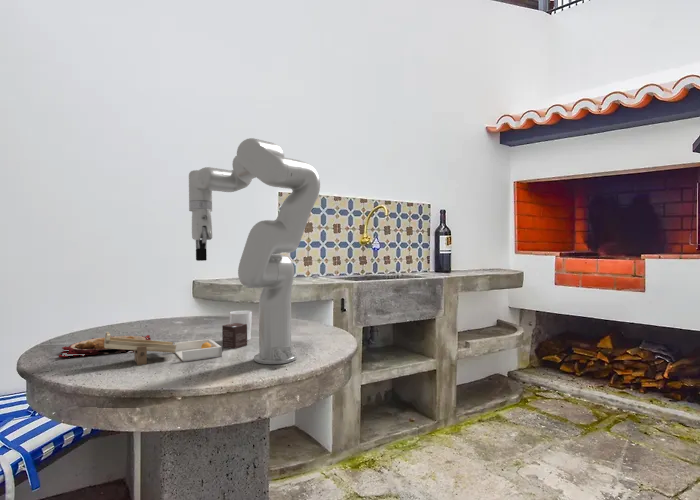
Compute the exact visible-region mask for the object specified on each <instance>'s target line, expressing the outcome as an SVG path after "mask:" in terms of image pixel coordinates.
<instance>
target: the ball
mask: <svg viewBox="0 0 700 500" xmlns="http://www.w3.org/2000/svg"><path fill="white" fill-rule="evenodd" d="M203 348H211V345H210V344H209V343H207V342H206V343H203V344H202V346H201V349H203Z"/></svg>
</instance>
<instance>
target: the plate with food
mask: <svg viewBox="0 0 700 500" xmlns="http://www.w3.org/2000/svg"><path fill="white" fill-rule="evenodd" d="M110 337H115V338H128V339H140V340H152V339H151V336H150V334H147V335H146V336H143V335H142V336H140V335H119V336H118V335H117V336H115V335H113V336H112V335H111V336H110ZM146 337H147V338H150V339H147V338H146ZM104 340H105V336H104V337H97V338H93V337H92V338H91V339H86V340H81V341H79V342H74V343H72V344H70V345H69V346H63V347H61V349H62V352H60V354H58V358H69V357H68V356H65V355H64V356H62V355H61V353H67V352H68V353H67V354H85V355H87V356H89V355H90V356H91V355H97V354H99V355H100V354H103V355H106V354H107V355H109V352H105V351H106V350H108V351H109V350H111V351H112V350H113V349H111V348H105V347H104ZM63 350H69V351H63ZM100 351H101V352H100ZM126 351H134V350H126V349H117V351H116V352H114V354H116V353H121V352H126ZM85 355H84V356H85ZM81 356H82V355H80V356H79V355H73V357H81ZM84 356H83V357H84ZM85 357H86V356H85Z"/></svg>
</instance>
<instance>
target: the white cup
mask: <svg viewBox="0 0 700 500" xmlns="http://www.w3.org/2000/svg"><path fill="white" fill-rule="evenodd" d="M252 314H253V311H252V310H233V311H230V312H229V324H232V323H240V324H247V341H250V340H251V338H252V336H251V335H252V333H251V332H252V324H253V323H252V321H253V315H252Z"/></svg>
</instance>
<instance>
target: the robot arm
mask: <svg viewBox="0 0 700 500" xmlns="http://www.w3.org/2000/svg"><path fill="white" fill-rule="evenodd" d="M282 149H283V148H281V146H279V145H278V144H276V143H274V142H270V141H266V140H263V139H258V138H254V137H253V138H252V137H251V138H246V139H243V140H242V141H241V142H240V143H239V144H238V147H237V150H236V155H235V156H234V158H233V160H232V169H224V168H217V167H216V168H215V167H211V166H209V167H207V166H206V167H202V168H200V169H198V170H197V169H196V170H195V169H194V170H191V171H189V173H188V211H189V212H191V238H192V240H194V241H195V260H196V261H197V262H201V261H203V262H204V261H205V262H206V261H207V260H208V259H207V256H208V255H207V252H208V251H207V243H208V242H207V241H208V240H209V241H210V240H212V239H213V226H212V225H213V222H212V213H211V212H213V192H224V193H234V192H237V191H241V190H242V189H245V188H247V187H248V186H249V185H250V184H251V182H252V180H253V179H256V178H257V180H259V181H260V182H261V183H263V184H265V185H267V186H269V187H273V188H283V189H288V190H292V191H291V192H290V194H288V196H286V198H285V199H284V201H283V202H282V203H281V207H280V209H279V211H278V215H277V217H276V219H274V220H273V219H272V220H271V219H267V220H260V221H257V223H255V224H254V225H253V226H252V227H251V229H250V230H249V233H248V235H247V238H246V241H245V244H244V247H243V251H242V254H241V258H240V259H239V264H238V268H237V275H238V280H239V282H240V283H241V285H242V286H244V287H246V288H248V289H260V288H261V289H262V290H261V293H260V294H259V299H258V331H259V332H258V337H259V339H258V345H259V353H256V354H255V355H254V356H253V361H255V363H258V364H261V365H282V364H287V363H291V362H293V361H295V360H297V353H295V352H294V351H292V289H293V281H294V277H295V266H294V264H293V261H292V259H290V258H289V257H288V256H287V255H286V254H291V253H293V252H296V251H297V249H298V247H299V245H300V244H301V241H302V237H303V235H304V233H305V229H306V227H307V225H308V221H309V218H310V215H311V213H312V209H313V208H314V206H315V203H316V201H317V199H318V197H319V194H320V188H321V180H320V179H321V178H320V176H319V173H318V172H317V170H316V169H315V168H314V167H313V165H311V164H309V163H308V162H306V161H302V160H300V159H294V158H289V157H285V153H284V151H283V150H282Z"/></svg>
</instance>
